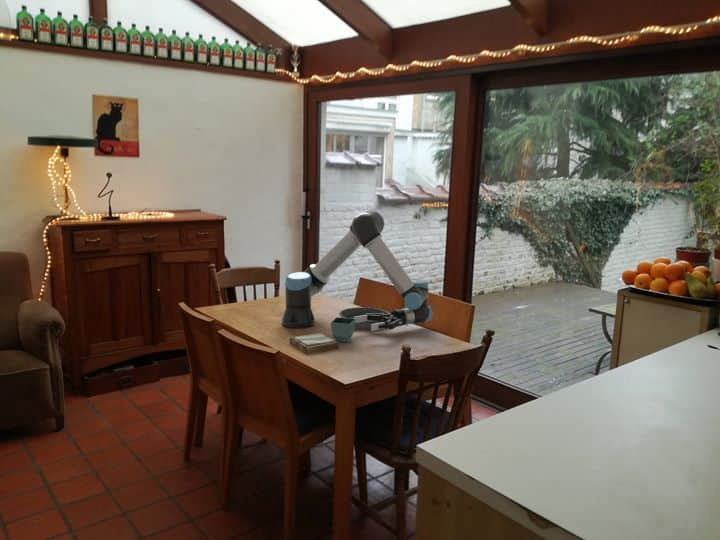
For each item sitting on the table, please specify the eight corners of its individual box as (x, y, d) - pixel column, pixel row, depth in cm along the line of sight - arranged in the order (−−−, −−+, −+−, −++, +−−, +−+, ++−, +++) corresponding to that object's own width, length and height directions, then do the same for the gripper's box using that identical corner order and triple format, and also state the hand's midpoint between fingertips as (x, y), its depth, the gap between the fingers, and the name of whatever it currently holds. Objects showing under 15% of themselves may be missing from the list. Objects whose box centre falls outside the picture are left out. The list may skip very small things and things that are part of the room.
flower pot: (330, 342, 249) (330, 322, 247) (335, 336, 257) (336, 316, 256) (350, 344, 247) (350, 324, 245) (355, 338, 255) (355, 318, 254)
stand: (290, 343, 247) (290, 336, 247) (319, 338, 255) (319, 331, 254) (307, 353, 234) (307, 346, 234) (338, 348, 242) (338, 341, 241)
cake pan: (345, 331, 266) (345, 321, 266) (333, 317, 290) (333, 308, 289) (397, 328, 273) (397, 319, 272) (381, 314, 296) (381, 306, 295)
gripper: (419, 332, 258) (378, 339, 246) (386, 318, 278) (347, 325, 267) (419, 315, 256) (379, 322, 245) (386, 303, 277) (347, 308, 266)
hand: (362, 323), depth 256 cm, fingers open, 13 cm apart
